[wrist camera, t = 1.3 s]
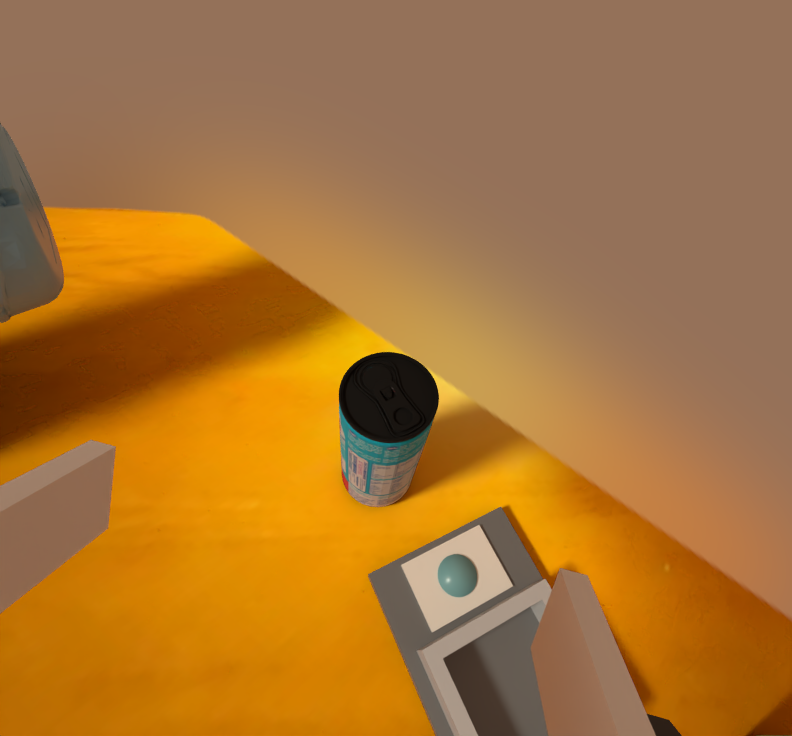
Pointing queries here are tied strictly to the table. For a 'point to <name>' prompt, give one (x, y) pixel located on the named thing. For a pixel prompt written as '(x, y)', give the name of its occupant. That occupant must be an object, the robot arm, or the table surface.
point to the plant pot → (774, 735)
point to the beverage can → (384, 425)
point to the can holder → (469, 628)
